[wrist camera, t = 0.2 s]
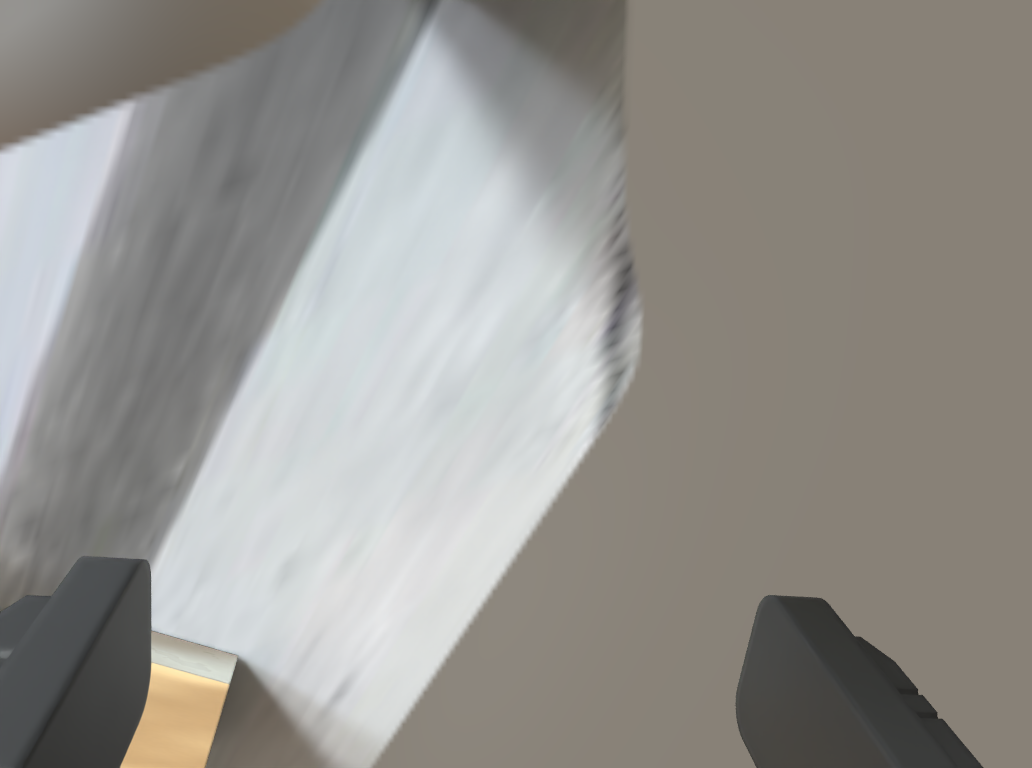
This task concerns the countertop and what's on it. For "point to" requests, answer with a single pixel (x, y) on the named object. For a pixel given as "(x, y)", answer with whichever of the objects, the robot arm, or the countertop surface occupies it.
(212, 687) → the light brown wooden block
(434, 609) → the countertop surface
